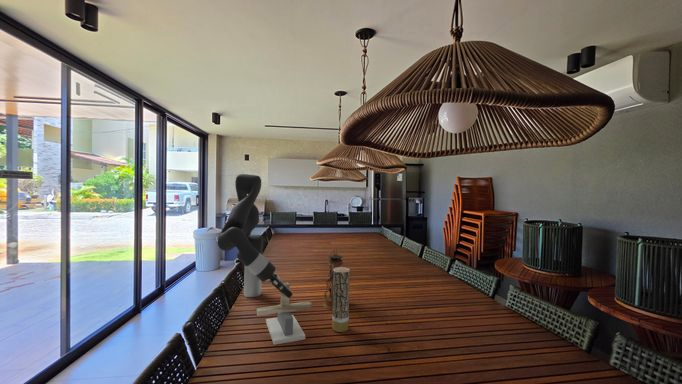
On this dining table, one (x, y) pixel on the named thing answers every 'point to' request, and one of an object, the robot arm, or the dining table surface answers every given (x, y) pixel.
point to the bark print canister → (340, 299)
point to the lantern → (333, 263)
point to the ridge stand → (284, 328)
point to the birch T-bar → (283, 305)
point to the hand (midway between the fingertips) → (288, 292)
